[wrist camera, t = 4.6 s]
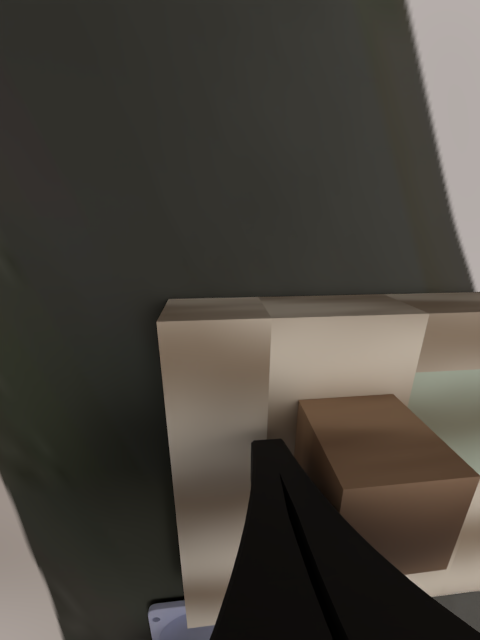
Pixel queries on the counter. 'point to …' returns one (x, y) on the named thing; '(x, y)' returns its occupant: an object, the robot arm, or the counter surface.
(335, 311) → the trap deck
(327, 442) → the walnut block
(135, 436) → the counter surface
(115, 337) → the counter surface
